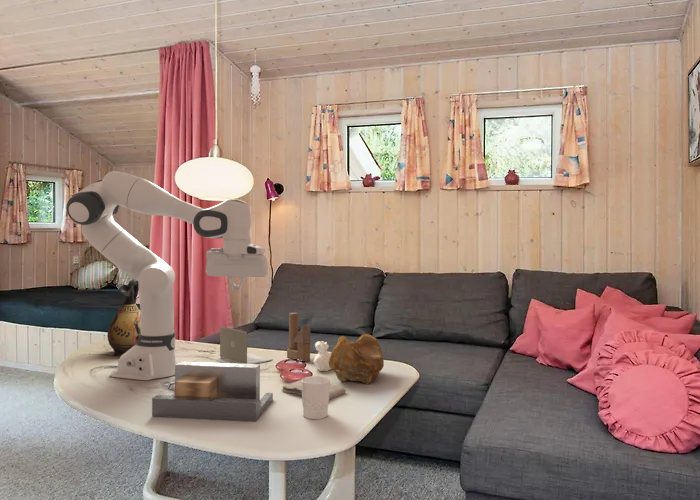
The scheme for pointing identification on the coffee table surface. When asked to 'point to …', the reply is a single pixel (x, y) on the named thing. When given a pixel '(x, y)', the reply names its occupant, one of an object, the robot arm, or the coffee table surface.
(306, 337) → the wooden block
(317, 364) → the bust
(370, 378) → the rough brown rock
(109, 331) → the ceramic jug
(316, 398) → the white cup
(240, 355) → the laptop
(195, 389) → the oak block
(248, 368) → the block
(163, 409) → the base
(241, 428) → the coffee table surface
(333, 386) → the washcloth
